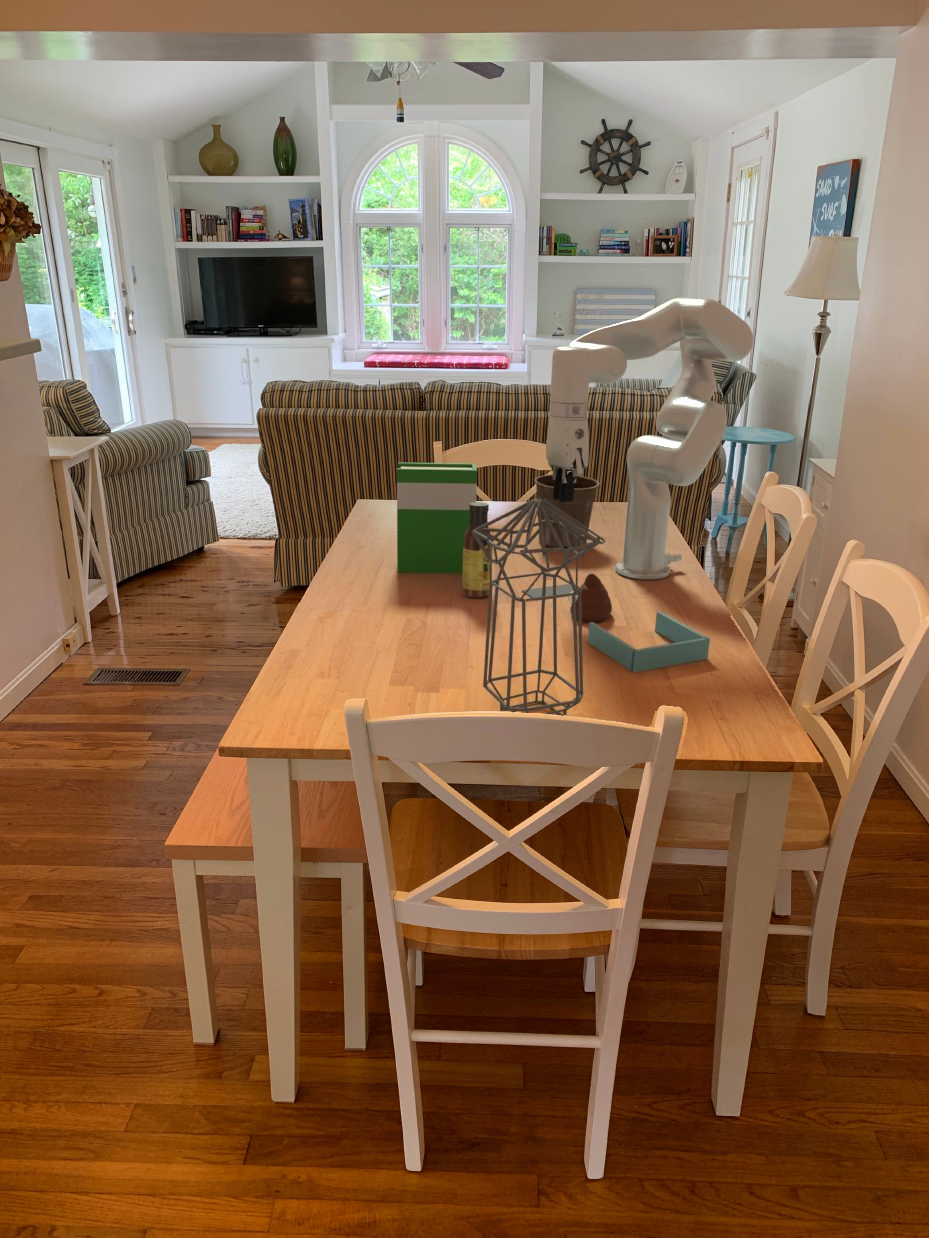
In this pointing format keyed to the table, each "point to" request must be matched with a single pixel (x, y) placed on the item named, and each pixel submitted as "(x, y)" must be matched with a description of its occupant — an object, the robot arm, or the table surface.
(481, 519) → the sauce bottle
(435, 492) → the hardback book
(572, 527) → the geometric lantern
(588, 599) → the poop emoji
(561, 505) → the plant pot
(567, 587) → the mat
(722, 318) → the robot arm
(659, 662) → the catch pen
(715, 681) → the table surface
